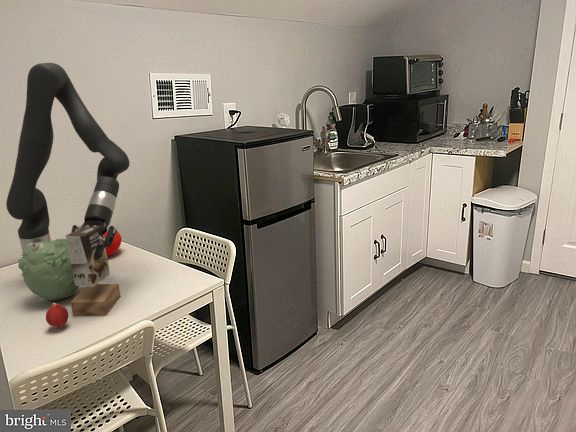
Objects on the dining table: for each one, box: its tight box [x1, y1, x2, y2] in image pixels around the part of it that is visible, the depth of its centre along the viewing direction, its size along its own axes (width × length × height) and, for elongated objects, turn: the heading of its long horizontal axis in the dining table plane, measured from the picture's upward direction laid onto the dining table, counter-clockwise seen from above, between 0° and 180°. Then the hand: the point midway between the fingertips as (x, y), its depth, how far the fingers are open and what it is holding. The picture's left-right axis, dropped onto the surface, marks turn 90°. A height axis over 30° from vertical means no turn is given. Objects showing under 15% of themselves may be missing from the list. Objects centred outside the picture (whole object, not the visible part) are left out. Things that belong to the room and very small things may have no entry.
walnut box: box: [69, 283, 122, 317], centre depth 144 cm, size 10×12×5 cm
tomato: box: [104, 230, 122, 258], centre depth 184 cm, size 13×14×12 cm
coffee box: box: [65, 226, 111, 288], centre depth 140 cm, size 9×6×16 cm
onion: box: [45, 302, 69, 329], centre depth 132 cm, size 6×6×8 cm
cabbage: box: [17, 238, 81, 301], centre depth 149 cm, size 16×19×20 cm
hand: (85, 258), depth 138 cm, fingers closed on coffee box, 6 cm apart
